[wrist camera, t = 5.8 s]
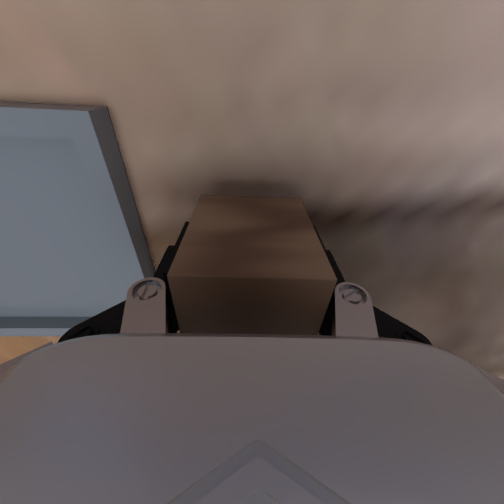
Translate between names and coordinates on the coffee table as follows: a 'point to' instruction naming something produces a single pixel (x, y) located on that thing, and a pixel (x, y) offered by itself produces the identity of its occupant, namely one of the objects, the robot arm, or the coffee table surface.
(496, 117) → the coffee table surface
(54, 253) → the slate dish
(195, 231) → the walnut block
